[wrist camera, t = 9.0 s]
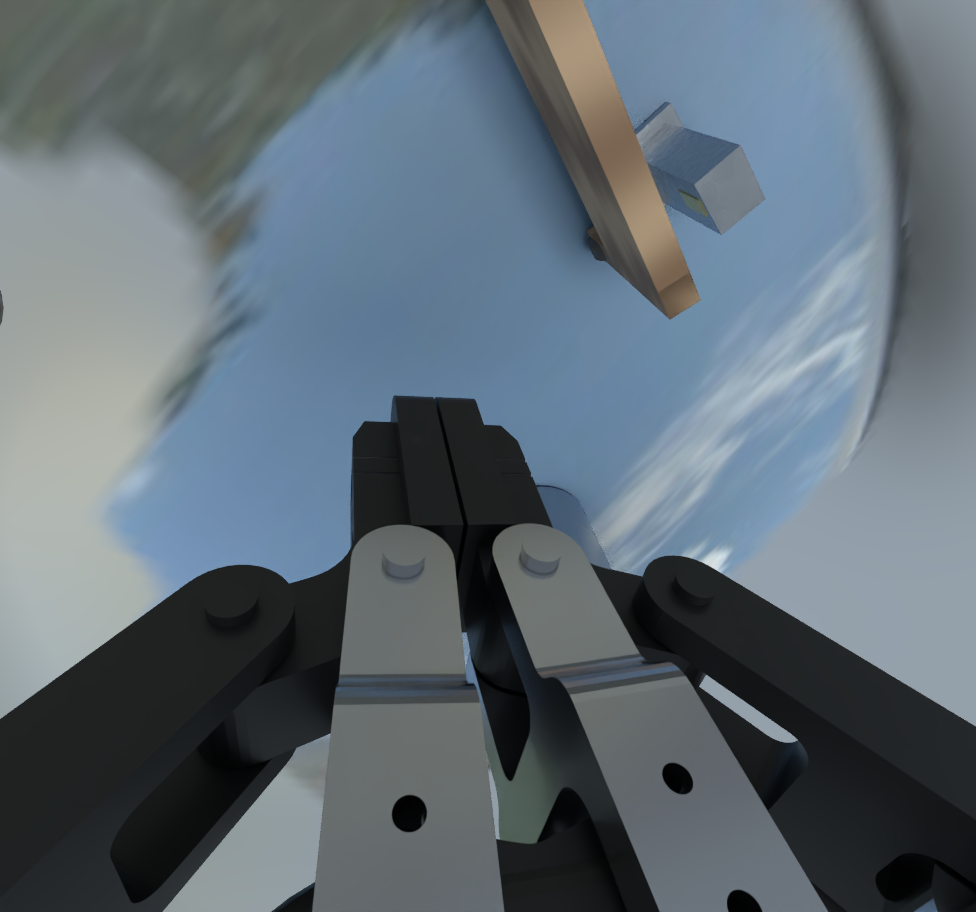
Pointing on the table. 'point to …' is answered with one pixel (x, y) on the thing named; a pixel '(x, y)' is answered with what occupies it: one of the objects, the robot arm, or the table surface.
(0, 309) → the thermos bottle
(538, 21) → the bar
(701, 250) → the table surface
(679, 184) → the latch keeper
